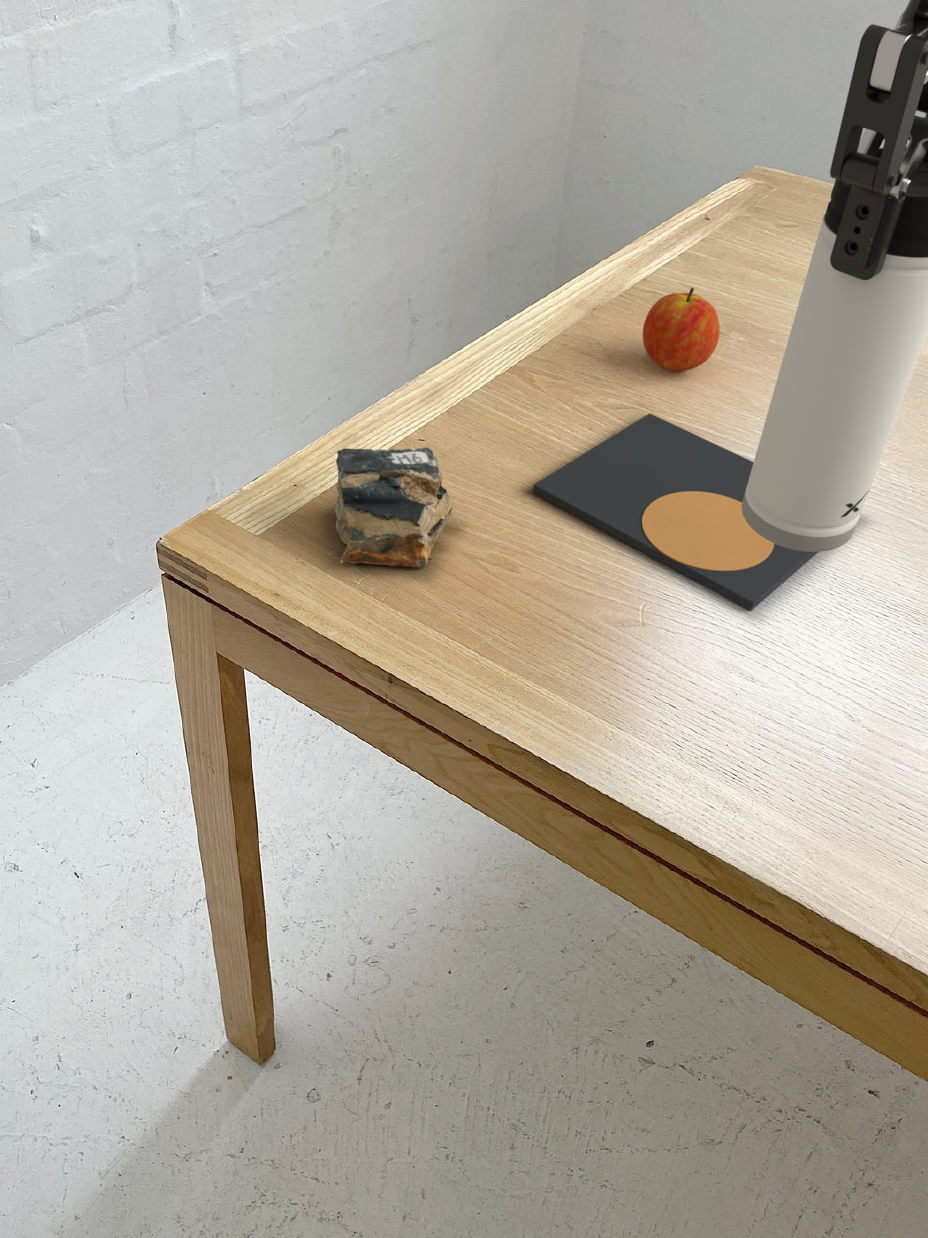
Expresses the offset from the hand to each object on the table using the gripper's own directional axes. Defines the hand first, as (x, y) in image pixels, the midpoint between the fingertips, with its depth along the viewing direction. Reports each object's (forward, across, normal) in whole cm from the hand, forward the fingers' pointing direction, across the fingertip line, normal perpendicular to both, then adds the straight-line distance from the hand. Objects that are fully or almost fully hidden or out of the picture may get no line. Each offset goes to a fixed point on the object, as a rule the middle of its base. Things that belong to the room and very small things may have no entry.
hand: (886, 250), depth 53 cm
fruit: (+31, +34, +28) cm, 54 cm away
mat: (+30, +16, +14) cm, 37 cm away
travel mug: (+16, 0, 0) cm, 16 cm away
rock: (+31, -4, +28) cm, 42 cm away
